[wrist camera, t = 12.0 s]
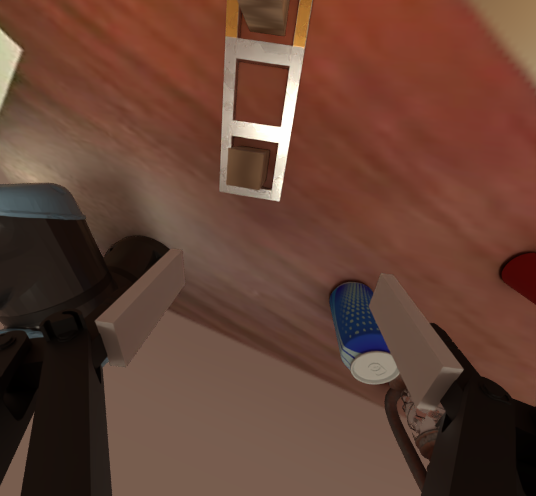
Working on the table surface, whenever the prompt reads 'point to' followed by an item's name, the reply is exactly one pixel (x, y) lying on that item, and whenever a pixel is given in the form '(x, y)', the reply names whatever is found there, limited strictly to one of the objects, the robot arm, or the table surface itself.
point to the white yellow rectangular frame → (234, 54)
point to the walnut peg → (247, 167)
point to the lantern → (426, 430)
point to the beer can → (360, 335)
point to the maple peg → (265, 15)
